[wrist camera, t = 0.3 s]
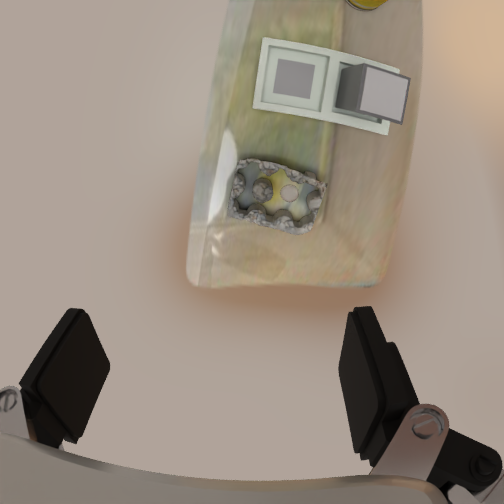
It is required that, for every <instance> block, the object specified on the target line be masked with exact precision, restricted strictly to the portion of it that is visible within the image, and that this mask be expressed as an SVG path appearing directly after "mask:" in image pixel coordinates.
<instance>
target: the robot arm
mask: <svg viewBox="0 0 504 504" xmlns="http://www.w3.org/2000/svg"><path fill="white" fill-rule="evenodd" d="M109 371H110V362H109V360H108V358H107V356H106V354H105V351H104V349H103V347H102V345H101V343H100V341H99V338H98V336H97V334H96V331H95V329H94V327H93V324H92V322H91V319H90V317H89V315H88V314H87V313H86V312H85V311H84V310H83V309H77V308H70V309H68V310H67V311H66V313H65V314H64V315H63V317H62V318H61V320H60V321H59V323H58V324H57V325H56V327H55V328H54V330H53V331H52V333H51V334H50V335H49V337H48V339H47V340H46V341H45V343H44V344H43V346H42V348H41V349H40V350H39V352H38V354H37V355H36V357H35V358H34V360H33V361H32V363H31V364H30V366H29V368H28V369H27V371H26V372H25V374H24V376H23V377H22V379H21V381H20V382H19V384H20V386H21V387H22V389H21V390H19V389H18V388H17V387H14V386H7V387H4V388H3V389H1V390H0V504H504V470H503V469H502V460H501V457H500V455H499V454H498V453H497V451H495V450H494V449H492V448H490V447H488V446H486V445H484V444H482V443H479V442H477V441H475V440H473V439H471V438H469V437H467V436H464V435H462V434H460V433H458V432H456V431H454V430H452V429H450V428H449V420H448V417H447V415H446V413H445V412H444V411H443V410H442V409H440V408H439V407H437V406H435V405H431V404H420V403H419V401H418V398H417V395H416V393H415V390H414V388H413V385H412V383H411V380H410V378H409V375H408V372H407V370H406V368H405V365H404V363H403V360H402V358H401V355H400V353H399V351H398V348H397V346H396V345H395V343H394V342H386V339H385V337H384V334H383V332H382V330H381V327H380V325H379V322H378V320H377V318H376V315H375V313H374V311H373V309H372V307H371V306H365V307H355V308H354V310H353V312H349V313H348V317H347V323H346V329H345V335H344V341H343V346H342V351H341V356H340V361H339V377H340V382H341V387H342V391H343V396H344V401H345V406H346V411H347V416H348V421H349V426H350V432H351V437H352V442H353V448H354V452H355V453H360V458H361V460H367V459H369V462H370V466H372V467H373V469H372V471H371V472H370V473H369V475H356V476H345V477H332V478H322V479H307V480H282V481H239V480H218V479H205V478H194V477H184V476H176V475H168V474H161V473H155V472H149V471H143V470H137V469H133V468H127V467H123V466H118V465H114V464H109V463H105V462H101V461H97V460H93V459H90V458H86V457H82V456H78V455H75V454H72V453H69V452H66V451H64V448H63V445H62V441H63V439H64V440H65V441H67V442H71V443H74V444H77V441H78V439H79V438H80V437H82V435H83V433H84V430H85V428H86V425H87V423H88V420H89V418H90V415H91V413H92V410H93V408H94V406H95V403H96V401H97V399H98V396H99V394H100V392H101V389H102V387H103V384H104V382H105V380H106V378H107V375H108V373H109Z"/></svg>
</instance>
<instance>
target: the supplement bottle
mask: <svg viewBox="0 0 504 504" xmlns="http://www.w3.org/2000/svg"><path fill="white" fill-rule="evenodd" d="M346 1H347V2H348V3H349V4H350V5H351V6H352V7H354V8H356V9H358V10H362V11H370V10H373V9H375V8H377V7H378V6H380V5H381V4H383V3H384V2H386V1H387V0H346Z"/></svg>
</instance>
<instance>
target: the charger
mask: <svg viewBox="0 0 504 504" xmlns="http://www.w3.org/2000/svg"><path fill="white" fill-rule="evenodd" d="M410 79H411V78H409V77H406V76H403V75H400V74H397V73H395V72H392V71H388V70H385V69H382V68H379V67H376V66H372V65H369V64H366V63H362V64H358V65H354V66H350V67H347V68H343V69H342V70H341V76H340V82H339V88H338V94H337V100H336V105H335V108H339V109H344V110H348V111H352V112H356V113H360V114H364V115H368V116H372V117H375V118H379V119H383V120H387V121H390V122H394V123H397V124H401V125H402V123H403V118H404V113H405V107H406V102H407V97H408V91H409V85H410Z"/></svg>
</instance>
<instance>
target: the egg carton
mask: <svg viewBox="0 0 504 504" xmlns="http://www.w3.org/2000/svg"><path fill="white" fill-rule="evenodd" d="M250 162H256V163H258V165H259V168H260V170H261V171H262V172H263V173H265V174H266V175H267V176H271V175H272V174H274V173H276V172H277V171H278V170H279V168H282V169H284V170H285V172H286V174H287V176H288V177H289V178H290V179H291V180H292V181H295V182H297V183H298V184H300V183H304V182H306V183H308V184H311V185H313V186H316V187H318V188H319V190H318V191H313V192H311V193H309V194H308V196H307V204H308V207H309V209H310V211H311V214H310V215H307V216H304V217H302V218H301V220H300V221H299V222H297V221H293V219H292V215H291V213H290V212H289V211H287V210H279V211H277V212H276V213H275V214H274V216H270V215H266V211H265V208H264V207H263V206H262V205H260V204H252V205H251V206H249V208H248V209H247V210H243V209H240V208H239V203H238V202H237V201H236V200H235V199H234V198H237V197H239V195H240V194H241V193H242V192H243V191H244V188H245V179H244V177H243V175H241V174H240V173H238V169H239V168H245V167H247V166H248V164H249V163H250ZM327 185H328V184H325V183H323V182H320V181H317V180H316V177H315V174H314V173H312V172H309V171H305V172H304V174H302V173H301V172H298V171H295V170H291V169H289V168H287V166H285V165H279V164H276V163H272V162H265V161H259V159H256V158H250V159H246V160H239V162H238V165H237V168H236V173H235V179H234V182H233V188H232V191H231V196H230V199H229V205H228V216H229V217H233V218H237V219H241V220H247V221H250V222H254V223H256V224H258V225H260V226H266V227H270V228H273V229H278V230H281V231H284V232H287V233H290V234H294V235H300V234H304V233H306V232H309V231H311V229H312V226H313V224H314V221H315V218H316V215H317V213H318V209H319V206H320V204H321V201H322V198H323V196H324V193H325V190H326V188H327ZM252 193H253V196H254V198H255V199H256V200H257V201H258V202H260V203H264V202H266V201H269V200H270V199H271V198H272V196H273V189H272V184H271V182H270V181H269V180H267V179H265V178H260V179H258V180H256V181H255V183H254V184H253V192H252ZM280 194H281V197H282V199H283V200H285V201H287V202H293V201H295V200H296V199H297V198H298V195H299V192H298V189H297V188H296V187H295V186H294V185H286V186H284V187H283V188H282V189H281V192H280Z"/></svg>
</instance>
